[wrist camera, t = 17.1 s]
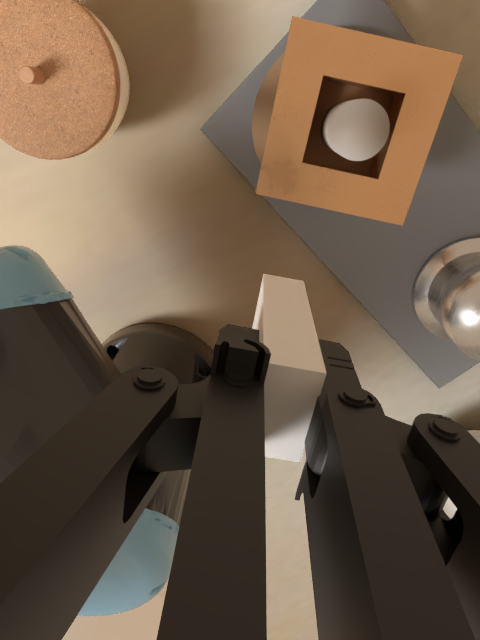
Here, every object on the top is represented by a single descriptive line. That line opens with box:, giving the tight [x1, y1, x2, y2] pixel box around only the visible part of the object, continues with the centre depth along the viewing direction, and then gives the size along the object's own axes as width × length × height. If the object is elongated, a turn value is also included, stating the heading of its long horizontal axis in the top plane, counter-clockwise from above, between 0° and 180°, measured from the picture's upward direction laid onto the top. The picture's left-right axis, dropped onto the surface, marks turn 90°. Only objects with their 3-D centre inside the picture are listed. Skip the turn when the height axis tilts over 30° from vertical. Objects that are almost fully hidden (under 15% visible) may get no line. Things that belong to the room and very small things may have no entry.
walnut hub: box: [252, 30, 393, 173], centre depth 31 cm, size 13×13×13 cm
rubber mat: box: [200, 0, 480, 388], centre depth 40 cm, size 34×16×1 cm, turn 44°
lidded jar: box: [0, 0, 130, 160], centre depth 33 cm, size 11×11×9 cm
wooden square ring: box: [255, 16, 463, 226], centre depth 29 cm, size 10×10×3 cm
